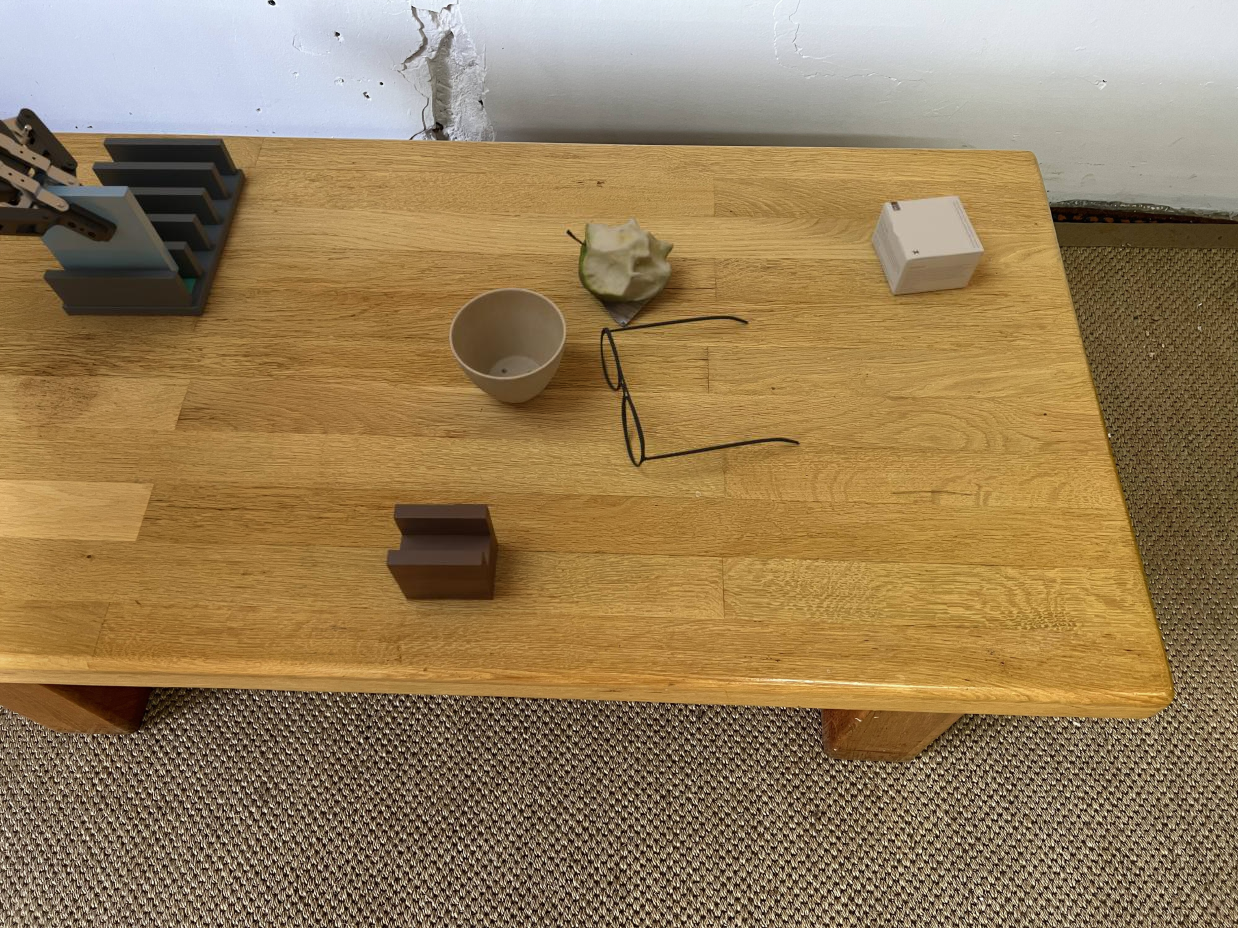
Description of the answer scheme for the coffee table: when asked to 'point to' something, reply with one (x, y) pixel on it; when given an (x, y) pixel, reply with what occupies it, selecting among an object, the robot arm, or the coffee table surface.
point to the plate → (128, 245)
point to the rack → (162, 227)
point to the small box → (926, 245)
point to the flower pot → (509, 342)
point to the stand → (444, 552)
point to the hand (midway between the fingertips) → (115, 227)
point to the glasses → (623, 411)
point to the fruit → (622, 267)
